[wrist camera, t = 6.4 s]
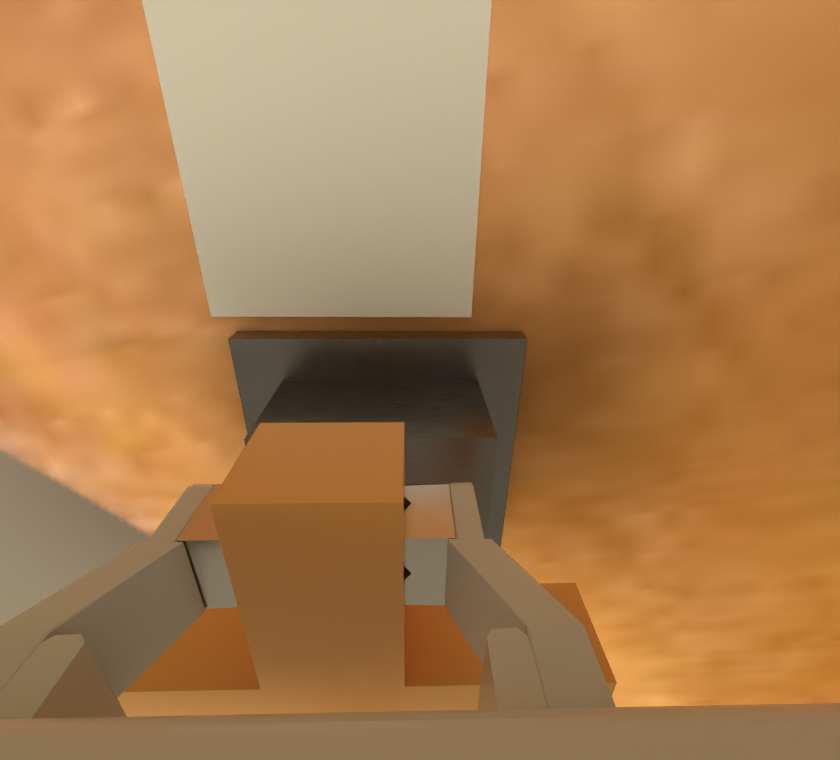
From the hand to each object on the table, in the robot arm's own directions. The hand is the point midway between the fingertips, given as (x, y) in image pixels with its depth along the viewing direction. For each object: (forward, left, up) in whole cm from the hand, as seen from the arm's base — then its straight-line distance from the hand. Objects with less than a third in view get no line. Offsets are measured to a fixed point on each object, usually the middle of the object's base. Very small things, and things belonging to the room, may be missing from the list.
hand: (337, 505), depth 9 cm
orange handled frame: (0, +7, 0) cm, 7 cm away
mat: (+2, -7, -15) cm, 17 cm away
